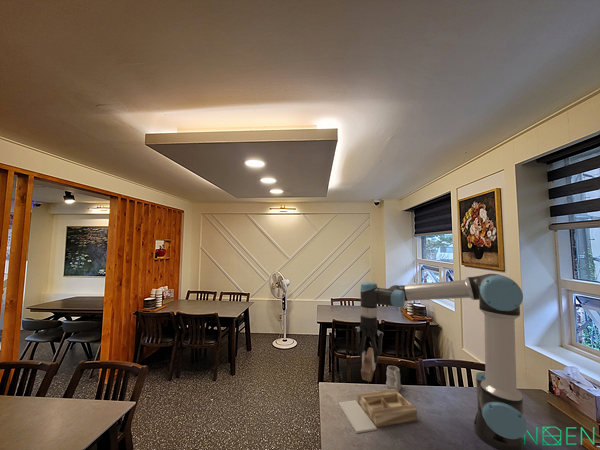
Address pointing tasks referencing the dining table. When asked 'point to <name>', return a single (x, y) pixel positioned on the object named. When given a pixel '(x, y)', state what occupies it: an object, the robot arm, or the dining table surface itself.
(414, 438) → the dining table surface
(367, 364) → the walnut bar
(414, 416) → the pocket board
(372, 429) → the felt mat
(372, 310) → the robot arm
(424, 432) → the dining table surface
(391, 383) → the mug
